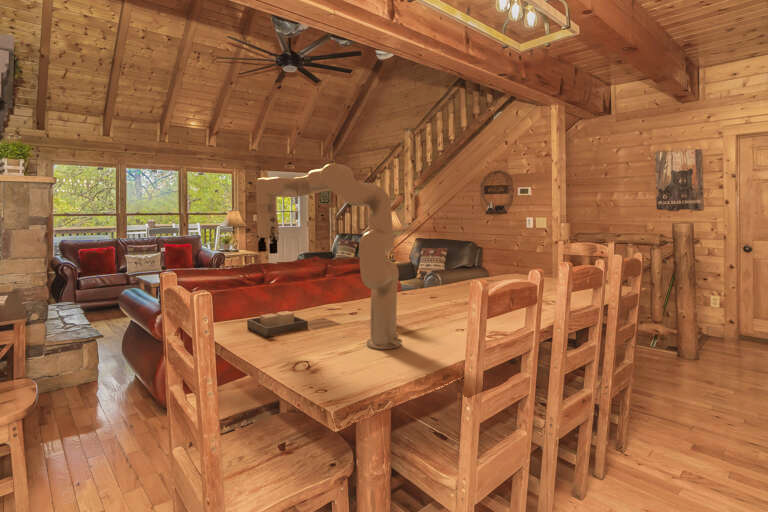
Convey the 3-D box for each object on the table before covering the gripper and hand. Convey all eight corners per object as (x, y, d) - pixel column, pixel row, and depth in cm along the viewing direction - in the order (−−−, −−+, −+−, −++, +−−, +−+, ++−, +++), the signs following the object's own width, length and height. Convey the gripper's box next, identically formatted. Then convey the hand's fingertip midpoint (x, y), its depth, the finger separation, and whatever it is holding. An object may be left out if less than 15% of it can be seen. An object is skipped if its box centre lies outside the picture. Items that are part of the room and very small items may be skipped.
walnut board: (342, 326, 191) (342, 324, 191) (313, 332, 182) (313, 329, 182) (323, 320, 201) (323, 317, 201) (296, 325, 192) (296, 323, 192)
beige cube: (279, 328, 183) (278, 315, 182) (266, 331, 179) (266, 317, 179) (272, 326, 187) (272, 313, 186) (260, 328, 183) (260, 315, 183)
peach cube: (294, 326, 187) (294, 313, 187) (282, 328, 184) (282, 315, 183) (287, 323, 191) (287, 310, 191) (276, 325, 188) (275, 312, 187)
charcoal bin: (307, 330, 184) (307, 320, 184) (267, 338, 173) (267, 328, 172) (286, 321, 198) (286, 313, 198) (247, 328, 186) (247, 319, 186)
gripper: (285, 209, 174) (286, 253, 176) (265, 209, 187) (266, 250, 189) (268, 209, 169) (269, 254, 171) (248, 209, 182) (249, 251, 184)
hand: (267, 252), depth 180 cm, fingers open, 9 cm apart
